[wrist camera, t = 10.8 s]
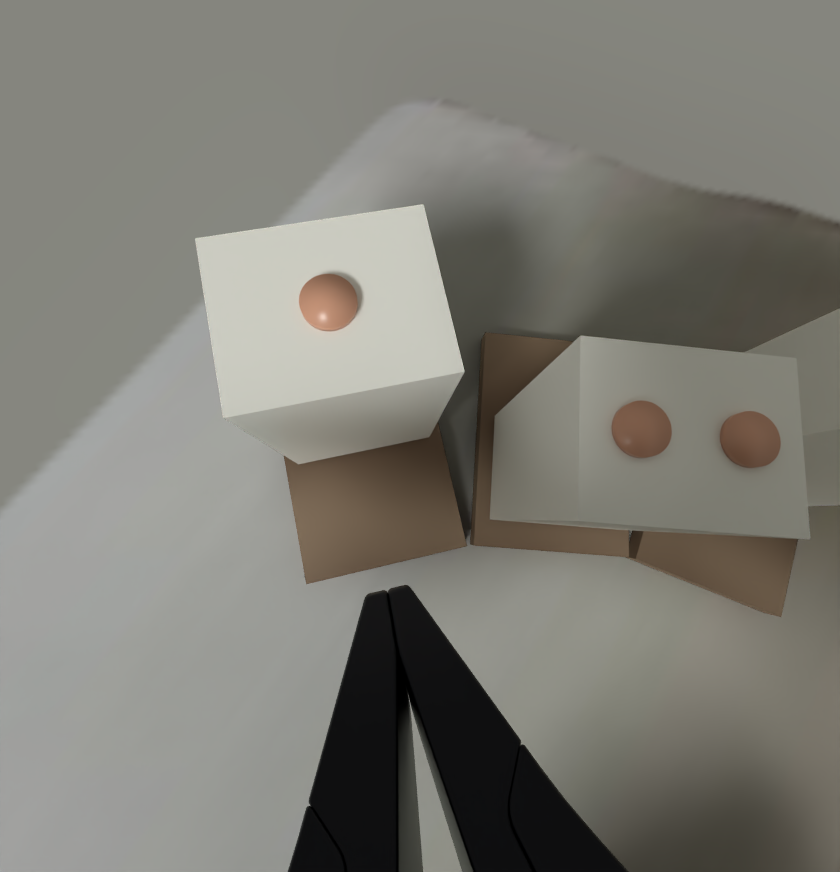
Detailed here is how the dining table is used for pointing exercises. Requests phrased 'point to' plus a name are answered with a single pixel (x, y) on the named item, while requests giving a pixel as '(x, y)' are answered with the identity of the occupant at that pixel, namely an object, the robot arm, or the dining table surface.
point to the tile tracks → (439, 516)
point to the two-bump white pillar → (655, 442)
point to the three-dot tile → (816, 400)
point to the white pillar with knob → (331, 332)
